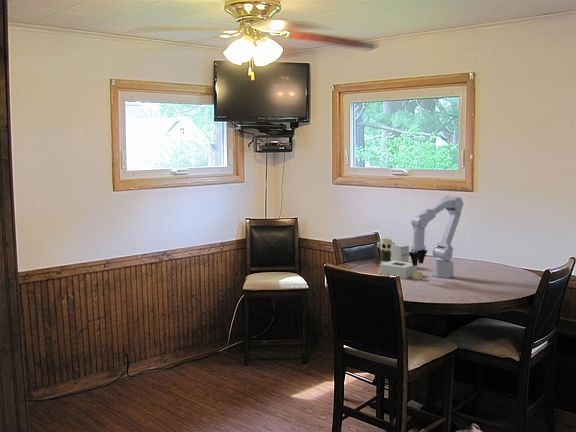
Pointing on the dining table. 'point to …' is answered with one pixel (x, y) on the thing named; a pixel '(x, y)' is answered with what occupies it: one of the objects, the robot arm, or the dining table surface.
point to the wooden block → (417, 275)
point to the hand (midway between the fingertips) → (417, 264)
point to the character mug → (385, 248)
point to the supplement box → (400, 253)
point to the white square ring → (398, 269)
